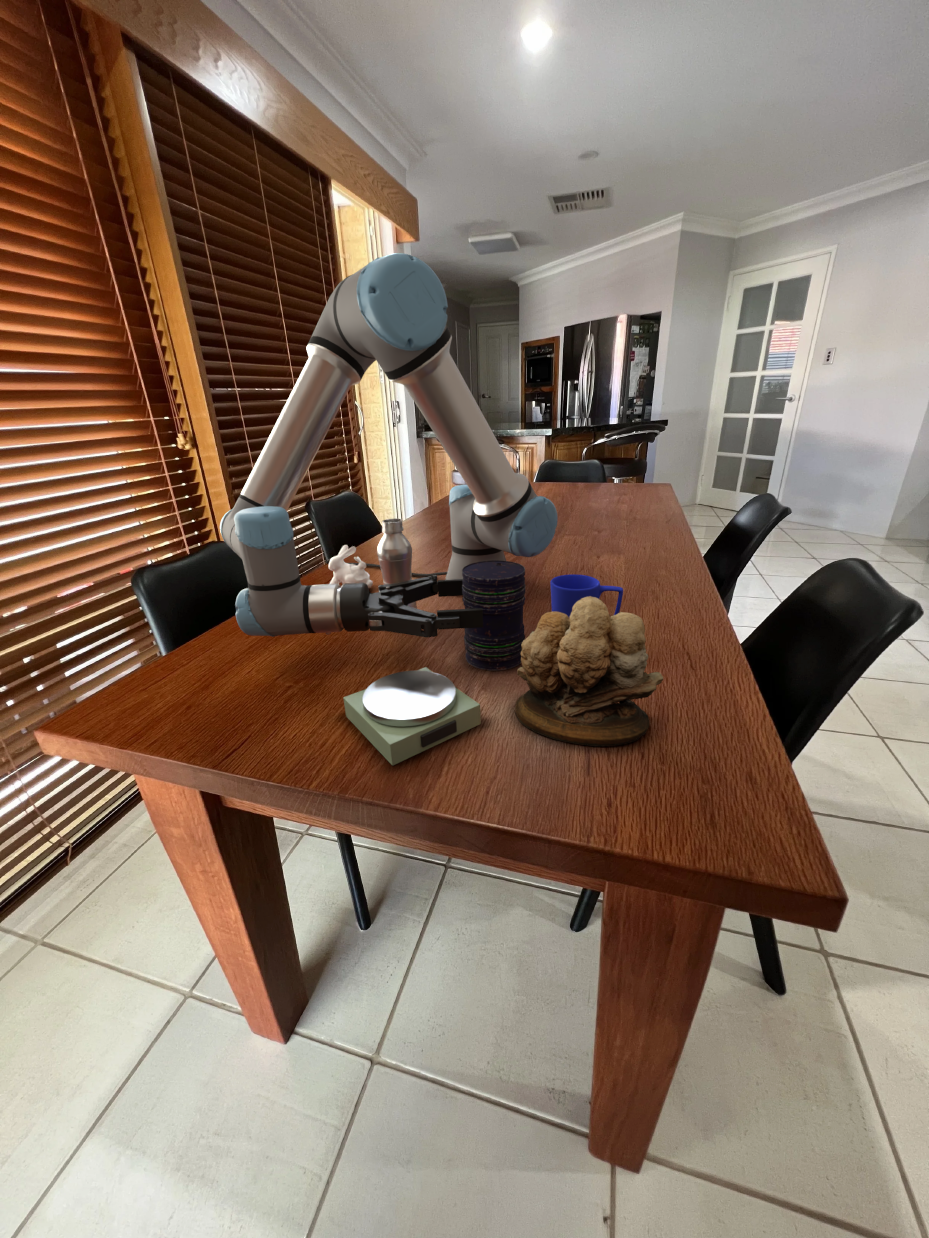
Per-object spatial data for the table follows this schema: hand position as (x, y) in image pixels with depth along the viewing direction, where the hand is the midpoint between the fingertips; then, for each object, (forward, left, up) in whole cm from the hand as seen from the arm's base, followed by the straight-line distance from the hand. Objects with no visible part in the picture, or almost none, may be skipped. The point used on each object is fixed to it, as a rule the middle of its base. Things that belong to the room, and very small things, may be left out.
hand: (479, 600), depth 78 cm
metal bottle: (-21, -3, -10) cm, 23 cm away
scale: (+8, -18, -10) cm, 22 cm away
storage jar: (+1, +2, -10) cm, 10 cm away
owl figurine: (+22, -1, -10) cm, 24 cm away
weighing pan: (+8, -18, -7) cm, 21 cm away
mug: (+5, +19, -10) cm, 22 cm away
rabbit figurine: (-48, -1, -10) cm, 49 cm away
